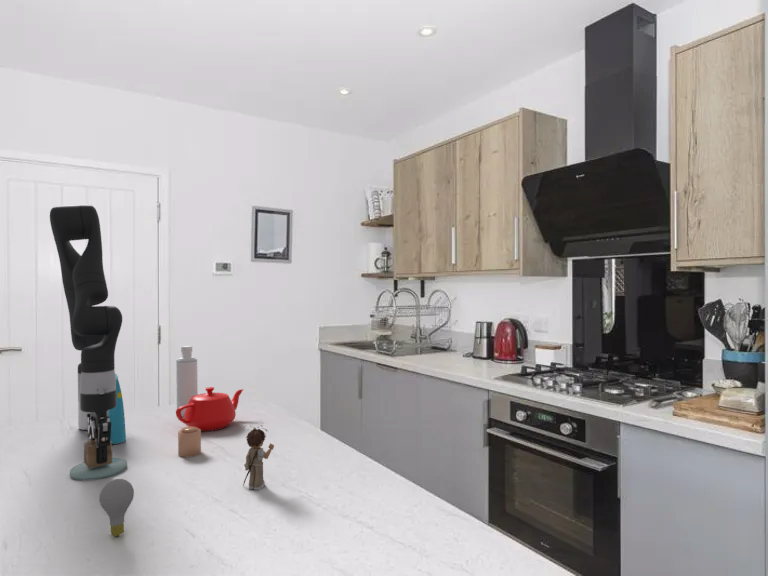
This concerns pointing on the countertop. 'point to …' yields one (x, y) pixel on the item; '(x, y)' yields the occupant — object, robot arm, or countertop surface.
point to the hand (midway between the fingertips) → (99, 459)
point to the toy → (256, 458)
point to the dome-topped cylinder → (189, 442)
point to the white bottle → (186, 377)
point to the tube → (117, 417)
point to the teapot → (209, 410)
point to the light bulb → (116, 503)
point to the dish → (98, 470)
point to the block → (91, 453)
